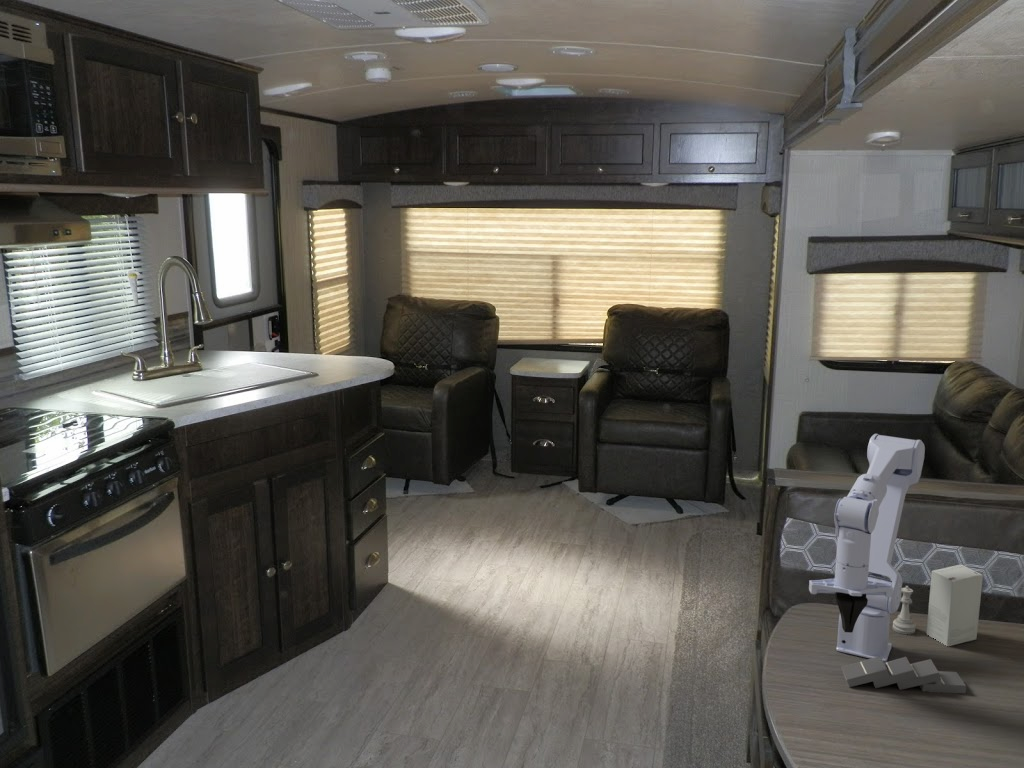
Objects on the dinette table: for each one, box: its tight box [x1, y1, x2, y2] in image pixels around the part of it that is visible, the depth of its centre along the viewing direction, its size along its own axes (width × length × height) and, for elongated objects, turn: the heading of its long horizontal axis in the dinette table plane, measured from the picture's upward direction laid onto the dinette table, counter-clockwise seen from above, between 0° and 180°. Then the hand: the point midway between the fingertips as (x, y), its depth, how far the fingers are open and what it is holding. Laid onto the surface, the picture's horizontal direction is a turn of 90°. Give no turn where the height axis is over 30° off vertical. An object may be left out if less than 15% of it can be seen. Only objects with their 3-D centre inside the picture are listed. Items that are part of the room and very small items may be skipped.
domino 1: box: [840, 656, 890, 688], centre depth 167 cm, size 2×5×8 cm
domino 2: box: [872, 656, 916, 689], centre depth 166 cm, size 2×5×8 cm
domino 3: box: [895, 658, 941, 691], centre depth 165 cm, size 2×5×8 cm
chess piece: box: [892, 585, 916, 635], centre depth 186 cm, size 4×4×10 cm
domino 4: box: [918, 670, 967, 695], centre depth 165 cm, size 2×5×8 cm
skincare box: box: [925, 564, 984, 647], centre depth 182 cm, size 8×6×15 cm
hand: (847, 630), depth 165 cm, fingers closed
